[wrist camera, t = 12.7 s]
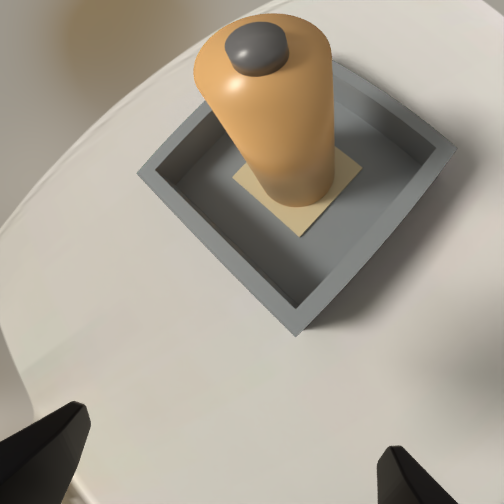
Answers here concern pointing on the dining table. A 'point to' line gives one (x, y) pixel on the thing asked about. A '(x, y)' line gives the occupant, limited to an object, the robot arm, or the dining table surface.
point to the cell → (274, 101)
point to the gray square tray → (308, 217)
